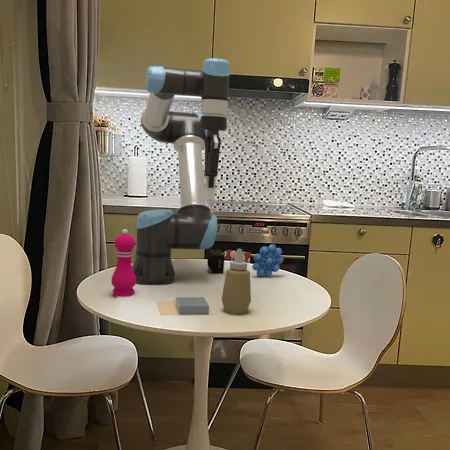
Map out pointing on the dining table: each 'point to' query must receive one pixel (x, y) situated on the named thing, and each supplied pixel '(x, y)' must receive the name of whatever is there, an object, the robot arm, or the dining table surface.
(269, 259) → the grapes
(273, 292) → the dining table surface
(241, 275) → the squeeze bottle
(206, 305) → the tile
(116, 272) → the pepper mill
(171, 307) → the mat
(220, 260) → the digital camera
